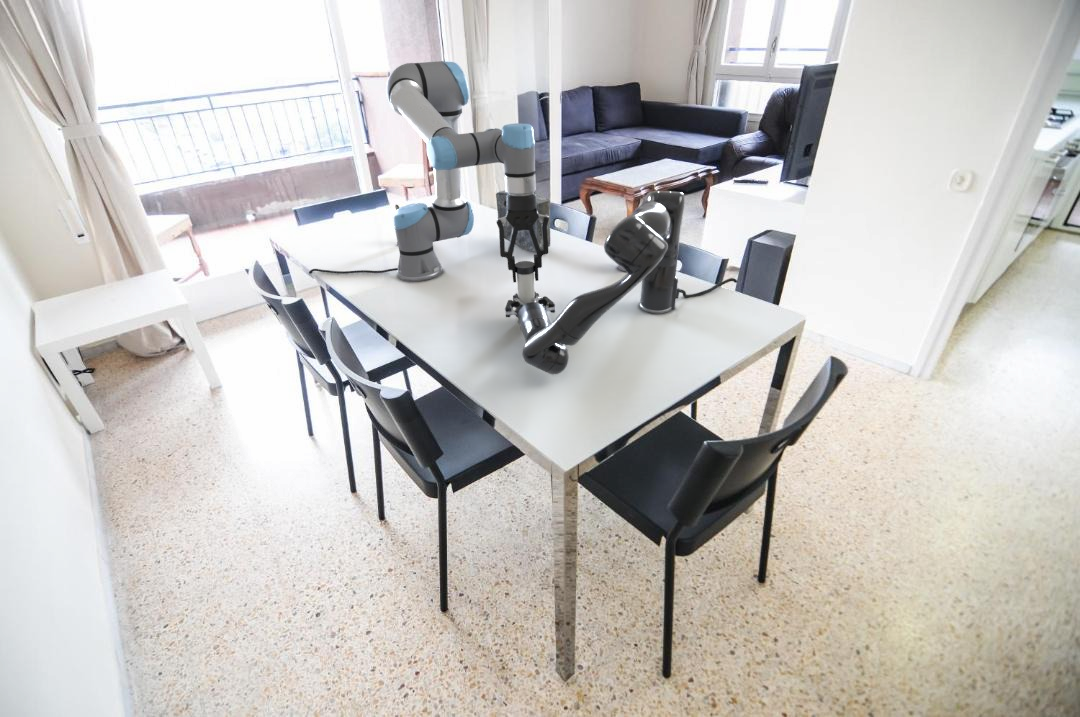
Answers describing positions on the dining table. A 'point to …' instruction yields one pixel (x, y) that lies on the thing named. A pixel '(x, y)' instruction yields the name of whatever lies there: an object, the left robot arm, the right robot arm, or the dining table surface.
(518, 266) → the lid
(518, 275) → the cylinder
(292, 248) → the dining table surface
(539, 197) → the concrete block
